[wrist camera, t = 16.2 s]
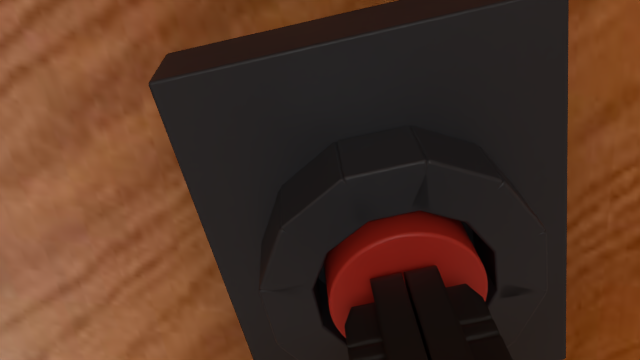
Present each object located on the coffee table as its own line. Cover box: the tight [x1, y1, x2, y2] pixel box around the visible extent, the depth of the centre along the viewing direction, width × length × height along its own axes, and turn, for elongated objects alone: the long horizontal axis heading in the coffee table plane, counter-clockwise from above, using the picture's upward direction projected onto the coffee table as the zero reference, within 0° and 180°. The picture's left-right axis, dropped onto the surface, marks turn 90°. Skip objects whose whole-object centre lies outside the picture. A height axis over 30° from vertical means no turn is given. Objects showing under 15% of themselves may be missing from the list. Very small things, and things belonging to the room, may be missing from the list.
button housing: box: [149, 0, 568, 360], centre depth 14 cm, size 11×9×4 cm
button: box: [324, 211, 488, 338], centre depth 13 cm, size 4×4×2 cm
